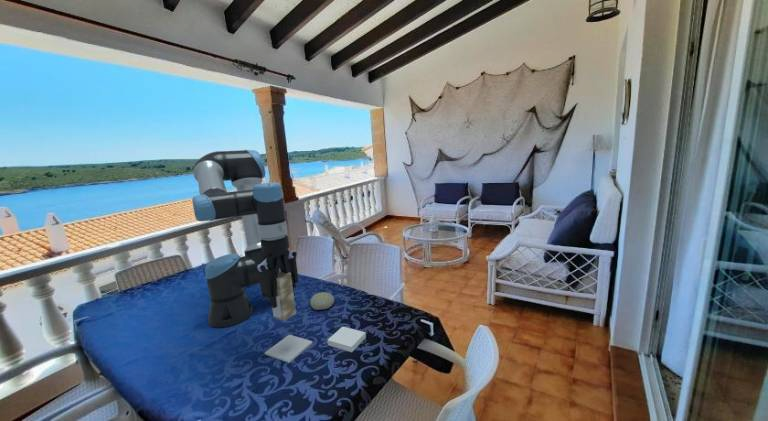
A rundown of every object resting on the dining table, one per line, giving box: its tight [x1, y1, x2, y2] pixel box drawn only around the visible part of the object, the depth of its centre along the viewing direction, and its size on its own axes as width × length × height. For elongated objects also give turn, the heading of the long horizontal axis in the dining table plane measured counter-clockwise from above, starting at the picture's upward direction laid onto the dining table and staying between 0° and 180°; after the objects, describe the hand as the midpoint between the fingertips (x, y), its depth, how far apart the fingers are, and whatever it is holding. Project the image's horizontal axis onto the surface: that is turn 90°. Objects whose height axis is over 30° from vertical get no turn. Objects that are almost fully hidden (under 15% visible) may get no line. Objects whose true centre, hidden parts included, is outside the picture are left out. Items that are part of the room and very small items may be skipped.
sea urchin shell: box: [309, 291, 335, 311], centre depth 118 cm, size 9×8×8 cm
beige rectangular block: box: [273, 271, 297, 322], centre depth 88 cm, size 4×4×13 cm
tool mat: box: [264, 334, 314, 364], centre depth 92 cm, size 10×10×1 cm
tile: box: [326, 326, 367, 353], centre depth 94 cm, size 2×8×9 cm
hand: (284, 311), depth 89 cm, fingers closed on beige rectangular block, 4 cm apart
